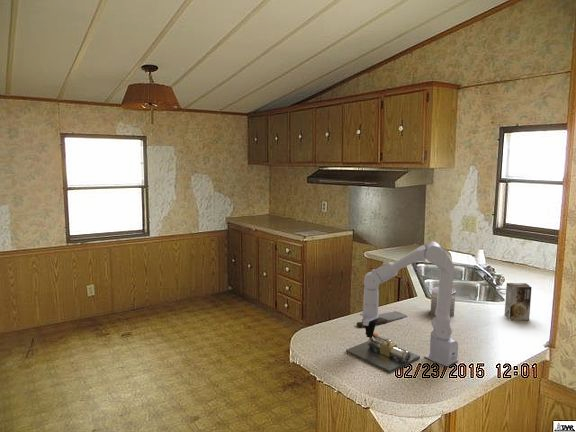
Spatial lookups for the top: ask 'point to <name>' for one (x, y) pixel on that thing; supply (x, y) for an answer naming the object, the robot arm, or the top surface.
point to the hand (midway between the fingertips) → (369, 337)
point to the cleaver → (386, 318)
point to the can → (434, 301)
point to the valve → (383, 354)
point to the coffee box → (518, 301)
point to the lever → (381, 338)
